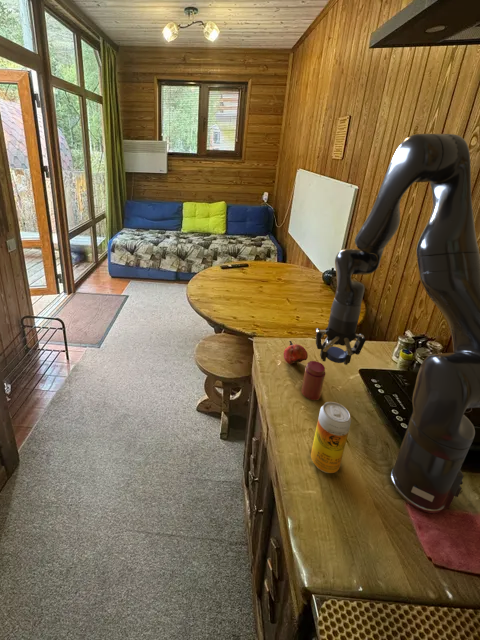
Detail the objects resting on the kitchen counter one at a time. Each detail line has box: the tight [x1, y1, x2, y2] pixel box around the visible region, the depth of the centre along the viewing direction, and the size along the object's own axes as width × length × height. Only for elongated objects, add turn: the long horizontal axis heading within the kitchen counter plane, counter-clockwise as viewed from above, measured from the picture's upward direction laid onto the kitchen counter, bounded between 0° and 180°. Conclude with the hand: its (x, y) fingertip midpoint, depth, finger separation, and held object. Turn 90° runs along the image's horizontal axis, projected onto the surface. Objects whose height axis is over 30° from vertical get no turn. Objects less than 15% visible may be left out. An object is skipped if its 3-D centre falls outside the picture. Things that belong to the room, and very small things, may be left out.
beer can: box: [310, 401, 352, 474], centre depth 67 cm, size 6×6×15 cm
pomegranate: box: [283, 340, 309, 372], centre depth 101 cm, size 7×7×10 cm
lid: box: [326, 345, 347, 364], centre depth 95 cm, size 6×6×2 cm
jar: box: [300, 360, 326, 401], centre depth 88 cm, size 5×5×10 cm
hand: (334, 361), depth 96 cm, fingers closed on lid, 5 cm apart
